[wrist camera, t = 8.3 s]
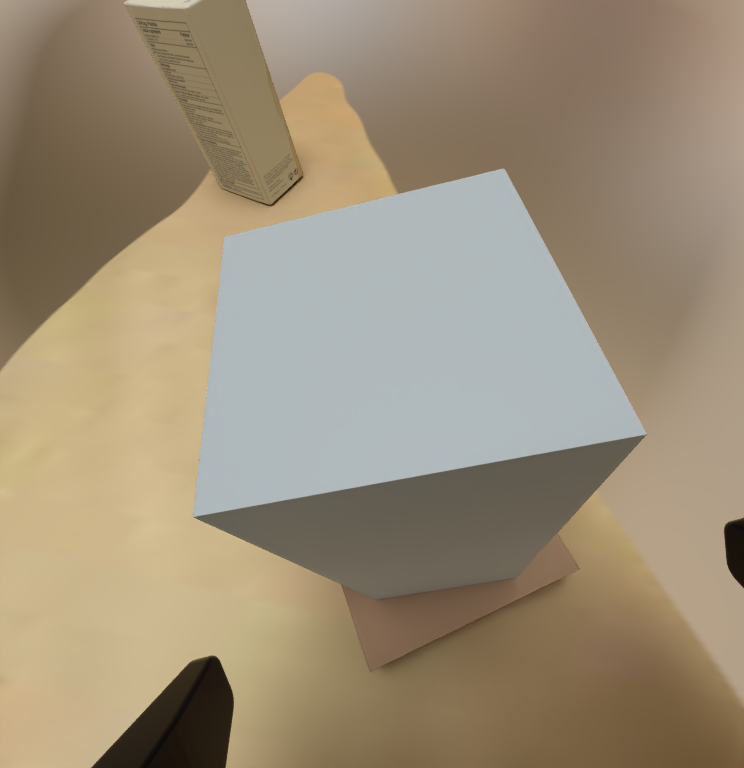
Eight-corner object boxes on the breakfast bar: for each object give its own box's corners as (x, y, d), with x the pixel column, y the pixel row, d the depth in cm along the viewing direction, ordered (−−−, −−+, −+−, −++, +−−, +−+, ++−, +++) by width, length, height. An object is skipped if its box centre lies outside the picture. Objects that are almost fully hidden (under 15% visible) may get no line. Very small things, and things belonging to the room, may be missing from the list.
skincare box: (305, 176, 33) (244, -27, 23) (269, 208, 32) (187, 7, 22) (251, 159, 36) (174, -30, 26) (216, 189, 34) (119, 0, 24)
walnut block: (559, 578, 17) (579, 568, 14) (381, 665, 16) (369, 672, 14) (463, 420, 21) (466, 391, 19) (319, 484, 20) (301, 463, 18)
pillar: (516, 577, 14) (647, 434, 4) (375, 599, 15) (192, 517, 5) (478, 446, 17) (503, 168, 7) (360, 468, 17) (224, 236, 7)
